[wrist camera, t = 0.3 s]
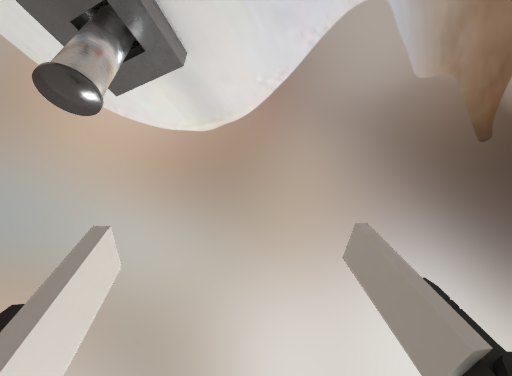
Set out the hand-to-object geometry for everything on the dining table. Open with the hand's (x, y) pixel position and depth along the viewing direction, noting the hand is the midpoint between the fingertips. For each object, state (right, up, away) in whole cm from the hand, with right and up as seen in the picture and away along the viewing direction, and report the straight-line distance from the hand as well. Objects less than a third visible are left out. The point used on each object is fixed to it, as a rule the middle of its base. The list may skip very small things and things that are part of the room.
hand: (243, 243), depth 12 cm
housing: (-20, +27, +20) cm, 39 cm away
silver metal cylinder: (-20, +27, +20) cm, 39 cm away
